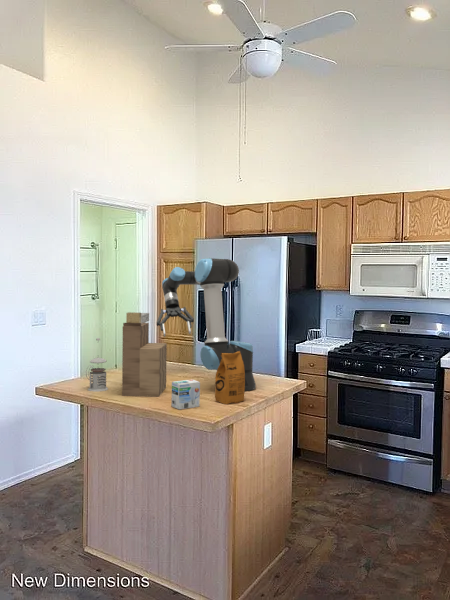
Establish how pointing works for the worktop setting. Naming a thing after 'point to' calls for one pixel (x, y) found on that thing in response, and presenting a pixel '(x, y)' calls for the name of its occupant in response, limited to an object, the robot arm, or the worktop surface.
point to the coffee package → (230, 379)
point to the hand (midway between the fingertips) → (177, 333)
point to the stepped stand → (142, 362)
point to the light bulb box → (185, 394)
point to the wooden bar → (137, 317)
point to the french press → (97, 375)
